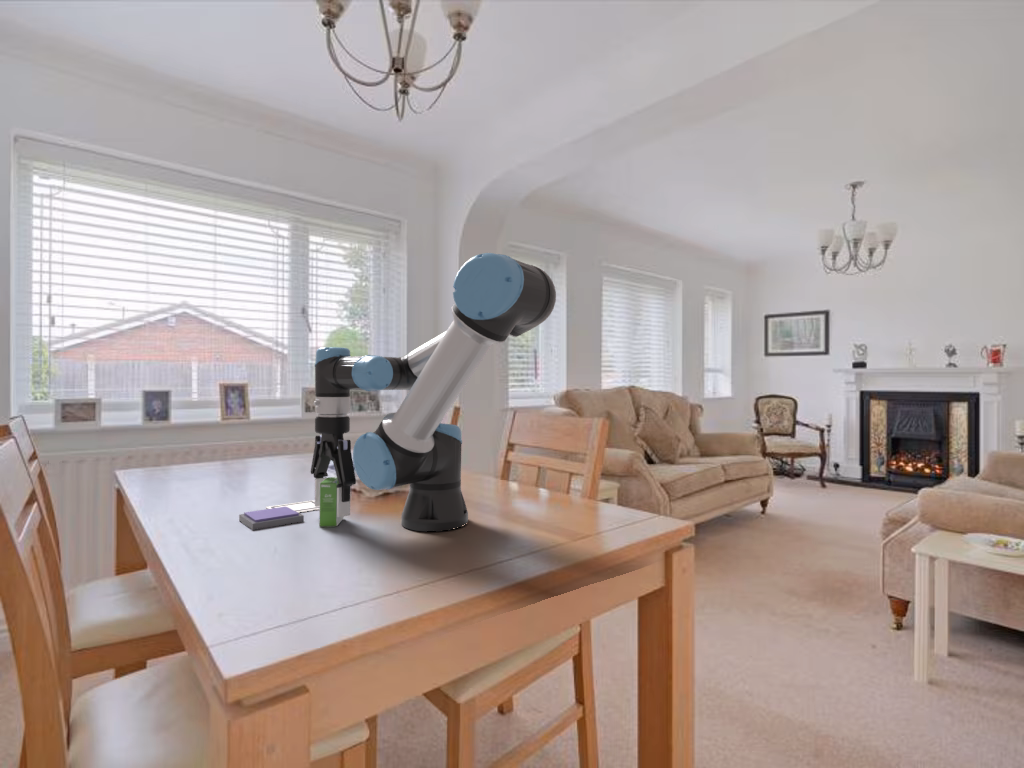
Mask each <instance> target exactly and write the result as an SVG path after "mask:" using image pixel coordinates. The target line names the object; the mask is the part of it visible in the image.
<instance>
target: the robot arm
mask: <svg viewBox="0 0 1024 768" xmlns="http://www.w3.org/2000/svg"><path fill="white" fill-rule="evenodd" d="M455 275H456V276H455V278H454V281H453V286H452V287H453V289H454V291H453V292H452V295H453V301H454V303H453V305H452V306H451V314H452V317H453V320H452V322H451V323H450V325H449V326H448V328H447V330H445V331H444V332H442V333H440V334H438V335H436V336H435V337H434V338H431V339H430V340H428V341H427V342H425V343H422V344H421V345H420V346H417V348H415V349H413V350H411V351H410V352H408V353H406V354H405V355H403V356H399V357H393V356H392V357H391V356H380V355H374V354H373V355H371V354H366V355H356V356H355V355H353V356H351V350H350V349H349V348H347V347H338V346H337V347H336V346H331V347H329V346H323V347H321V346H320V347H319V348H317V349H316V351H315V363H314V370H315V371H314V383H315V384H314V385H315V388H314V391H315V392H314V393H315V394H314V395H315V399H314V401H313V403H312V404H313V405H314V407H315V409H314V411H315V415H317V416H315V418H314V432H315V433H316V434H320V435H315V438H314V439H315V441H314V449H313V455H312V460H311V466H310V474H311V475H313V478H314V501H315V507H318V506H320V483H321V482H322V481H324V480H325V479H327V478H328V477H329V475H328V470H329V466H330V463H331V461H332V462H333V467H334V470H335V474H336V477H337V479H338V482H339V484H338V485H337V486H336V487H337V517H344V518H345V517H349V516H351V487H352V486H354V485H356V484H357V480H356V475H357V477H358V478H359V480H360V482H362V484H363V485H365V487H367V488H368V489H371V490H375V491H381V490H391V489H394V488H397V487H402V486H406V485H409V491H408V494H407V496H406V499H405V502H404V503H405V504H404V505H403V509H402V512H401V518H400V519H401V522H400V523H401V526H402V527H403V528H405V529H408V530H411V531H417V532H427V531H436V532H442V531H441V530H448V531H450V530H449V529H453V528H457V527H460V526H462V525H464V524H466V523H467V522H468V523H469V511H468V508H467V505H466V502H465V499H464V495H463V491H462V484H461V483H462V444H463V440H462V431H461V428H460V426H458V425H456V424H451V423H442V421H443V420H444V418H445V417H446V415H447V413H448V412H450V409H451V408H452V406H453V404H454V403H455V402H456V400H457V399H458V397H460V396H459V395H460V394H462V393H461V392H462V391H463V390H464V388H465V387H466V385H467V384H468V382H469V381H470V379H471V377H472V376H473V375H474V374H475V372H476V370H477V368H478V367H479V366H480V364H481V363H482V361H483V359H484V358H485V357H486V355H487V353H488V352H489V351H490V349H491V348H492V346H493V345H498V344H503V343H504V342H505V341H506V340H507V338H508V337H509V336H510V337H512V338H518V337H519V336H521V335H523V334H525V333H527V332H528V331H531V330H533V329H534V328H536V327H538V326H539V325H541V324H542V323H544V322H545V321H546V320H548V318H549V317H550V316H551V314H552V312H553V311H554V308H555V305H556V301H557V293H556V292H557V291H556V287H555V284H554V281H553V279H552V278H551V277H550V275H549V274H547V272H546V271H544V270H543V269H541V268H540V267H538V266H535V265H533V264H528V263H525V262H523V261H520V260H517V259H515V258H512V257H511V256H509V255H506V254H500V253H493V252H485V253H479V254H476V255H474V256H472V257H470V258H469V259H468V260H466V262H464V264H463V265H461V267H460V268H459V270H458V271H457V273H456V274H455ZM389 390H390V391H391V390H392V391H399V390H400V391H403V390H405V391H408V392H407V394H406V396H405V397H404V398H403V401H402V402H401V404H400V406H399V407H398V409H397V410H396V411H395V412H390V413H388V414H385V416H384V417H383V418H382V420H381V421H380V423H379V424H378V426H377V428H376V429H375V431H368V432H365V433H363V434H361V435H360V436H359V437H358V438H357V439H356V441H355V443H354V445H353V450H352V445H351V443H352V441H351V440H350V439H344V434H347V433H349V432H350V429H351V426H350V424H351V423H350V422H351V420H350V419H351V418H350V417H349V416H348V415H349V414H350V413H351V393H350V392H351V391H366V392H377V391H389ZM355 472H356V474H355Z"/></svg>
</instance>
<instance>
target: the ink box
mask: <svg viewBox="0 0 1024 768" xmlns="http://www.w3.org/2000/svg"><path fill="white" fill-rule="evenodd" d="M338 484H339V482H338V479H337V476H335V477H333V476H332V477H329V476H328V477H327V479H325V480H324V481H322V482H321V483H320V507H319V510H318V513H319V517H318V520H319V521H318V524H319V526H318V527H321V528H332V527H337V526H338V525H339V524H340V523H341V522H342V521H343V520H344V518H345V516H344V517H337V487H336V486H337V485H338Z"/></svg>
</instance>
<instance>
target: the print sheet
mask: <svg viewBox="0 0 1024 768" xmlns="http://www.w3.org/2000/svg"><path fill="white" fill-rule="evenodd" d="M279 507H288V508H290V509H292V510H294V511H296V512H298V513H300V512H302V513H307V511H309V512H314V511H313V510H315V511H319V507H320V506H318V507H315V499H312V500H306V501H299V502H292V503H284V504H279V505H270V506H265V509H272V508H279ZM300 514H301V513H300Z"/></svg>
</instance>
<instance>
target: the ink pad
mask: <svg viewBox="0 0 1024 768" xmlns="http://www.w3.org/2000/svg"><path fill="white" fill-rule="evenodd" d="M238 518H239V519H238V520H239V522H240V521H241V522H240V523H242V524H243V523H244V524H243V525H245V526H246V527H247V526H248V527H247V528H249V529H250V528H251V529H250V530H252V531H255V529H257V530H261V529H262V530H263V529H267V528H268V529H269V528H274V527H279V525H280V526H285V524H286V525H291V523H292V524H298V523H303V521H304V520H305V519H304V518H305V515H304V514H301V513H298V512H296V511H294V510H292V509H290V508H288V507H279V508H272V509H267V508H265V509H259V510H258V509H257V510H253V511H252V510H251V511H246V512H243V513H240V514H239V515H238ZM297 522H298V523H297ZM304 522H305V521H304Z"/></svg>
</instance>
